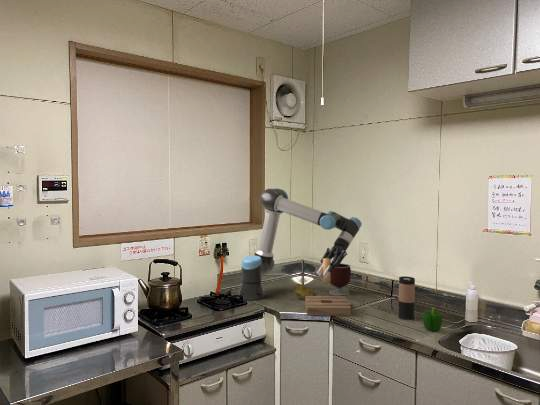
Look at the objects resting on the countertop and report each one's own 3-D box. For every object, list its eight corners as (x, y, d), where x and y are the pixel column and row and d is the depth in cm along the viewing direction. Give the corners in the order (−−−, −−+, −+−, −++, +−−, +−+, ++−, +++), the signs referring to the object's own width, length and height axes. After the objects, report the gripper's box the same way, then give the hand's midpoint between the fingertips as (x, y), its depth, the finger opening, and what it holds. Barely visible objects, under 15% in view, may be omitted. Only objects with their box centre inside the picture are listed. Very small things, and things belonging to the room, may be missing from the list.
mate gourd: (349, 290, 261) (350, 258, 260) (351, 296, 247) (352, 263, 247) (324, 289, 263) (325, 258, 262) (325, 295, 249) (325, 262, 248)
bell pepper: (435, 334, 184) (435, 312, 184) (419, 329, 191) (419, 307, 190) (446, 330, 189) (446, 308, 189) (429, 325, 196) (430, 304, 195)
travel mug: (401, 314, 213) (402, 275, 212) (416, 317, 208) (417, 277, 207) (395, 318, 207) (396, 278, 206) (410, 321, 202) (411, 280, 201)
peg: (322, 280, 223) (322, 258, 222) (330, 280, 223) (330, 258, 222) (323, 282, 219) (323, 259, 218) (330, 282, 219) (330, 259, 218)
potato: (308, 302, 233) (308, 288, 233) (291, 298, 243) (291, 284, 243) (317, 300, 239) (317, 286, 239) (301, 295, 248) (301, 282, 248)
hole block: (305, 302, 233) (305, 295, 233) (344, 303, 232) (344, 296, 232) (307, 315, 211) (307, 307, 211) (350, 315, 210) (351, 307, 210)
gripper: (358, 247, 223) (336, 282, 213) (335, 244, 236) (313, 277, 227) (352, 238, 219) (329, 273, 210) (328, 235, 233) (306, 268, 223)
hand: (321, 275), depth 218 cm, fingers closed on peg, 4 cm apart
